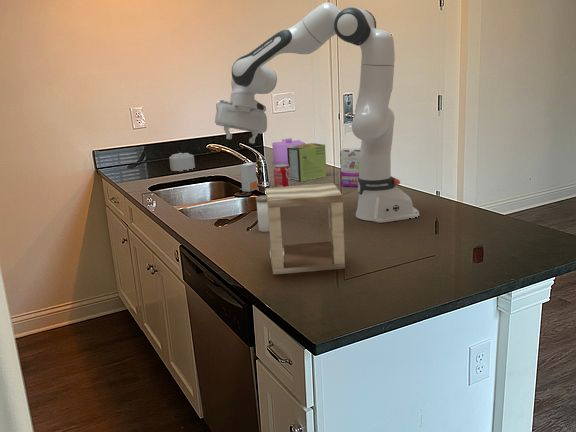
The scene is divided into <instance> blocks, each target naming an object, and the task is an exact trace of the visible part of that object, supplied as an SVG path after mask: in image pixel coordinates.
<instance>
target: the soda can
mask: <svg viewBox="0 0 576 432" xmlns="http://www.w3.org/2000/svg"><path fill="white" fill-rule="evenodd" d="M273 165H274V166H273V182H274V184H273V185H274V188H276V187H289V186H292V180H291V173H290V167H289V164H277V165H275V164H273Z"/></svg>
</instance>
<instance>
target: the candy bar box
mask: <svg viewBox="0 0 576 432" xmlns="http://www.w3.org/2000/svg"><path fill="white" fill-rule="evenodd" d="M360 149H361V148H341V149H340V150H339V161H340V162H339V163H340V187H341V186H343V187H345V188H358V178H359V153H360Z"/></svg>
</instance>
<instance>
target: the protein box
mask: <svg viewBox="0 0 576 432" xmlns="http://www.w3.org/2000/svg"><path fill="white" fill-rule="evenodd" d="M326 153H327V152H326V144H321V143H317V142H310V143H306V144H303V145H297V146H291V147H287V155H288V164H289V167H290V173H291V181H296V182H300V183H304V182H308V181H312V180H317V178H318V179H323V178H327V157H326V156H327V155H326ZM322 177H323V178H322Z"/></svg>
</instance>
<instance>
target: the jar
mask: <svg viewBox="0 0 576 432" xmlns="http://www.w3.org/2000/svg"><path fill="white" fill-rule="evenodd" d="M255 201H256V210H257V211H256V212H257V226H258V231H259V232H263V233H265V232H269V219H268V204H267V198H266V194H265V195H257V196H256V197H255Z"/></svg>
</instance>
